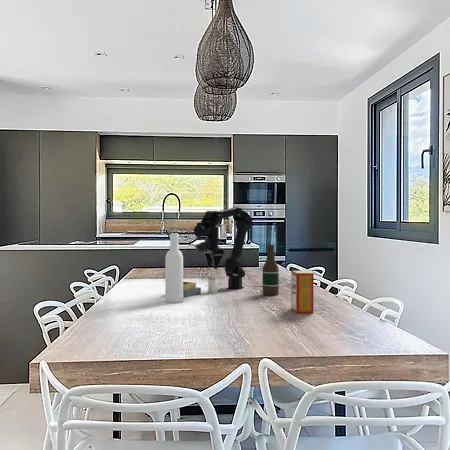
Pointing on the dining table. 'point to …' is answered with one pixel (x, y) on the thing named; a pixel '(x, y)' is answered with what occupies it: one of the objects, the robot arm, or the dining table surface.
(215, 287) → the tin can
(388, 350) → the dining table surface
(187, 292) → the gearbox
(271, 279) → the beer bottle
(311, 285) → the baking soda box
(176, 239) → the bottle
